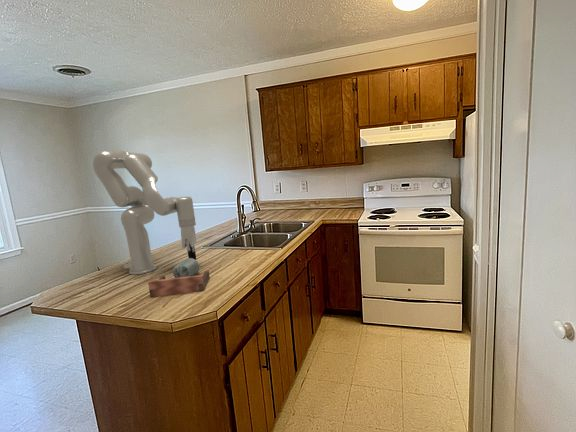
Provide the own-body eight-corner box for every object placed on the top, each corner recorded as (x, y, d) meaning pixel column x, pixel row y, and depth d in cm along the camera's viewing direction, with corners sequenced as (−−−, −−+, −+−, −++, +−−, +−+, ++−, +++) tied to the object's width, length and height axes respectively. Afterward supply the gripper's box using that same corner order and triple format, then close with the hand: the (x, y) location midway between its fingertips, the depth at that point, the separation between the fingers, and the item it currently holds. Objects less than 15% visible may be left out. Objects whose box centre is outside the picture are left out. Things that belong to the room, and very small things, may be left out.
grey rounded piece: (189, 277, 130) (180, 255, 132) (172, 287, 133) (163, 265, 135) (208, 273, 143) (199, 253, 145) (192, 282, 145) (184, 263, 148)
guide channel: (150, 297, 121) (147, 282, 120) (162, 282, 136) (160, 269, 135) (203, 290, 122) (201, 276, 121) (209, 277, 137) (207, 264, 136)
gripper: (183, 221, 156) (188, 256, 159) (174, 226, 141) (181, 266, 144) (198, 219, 156) (203, 255, 159) (191, 225, 141) (197, 264, 144)
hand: (192, 260), depth 151 cm, fingers closed
